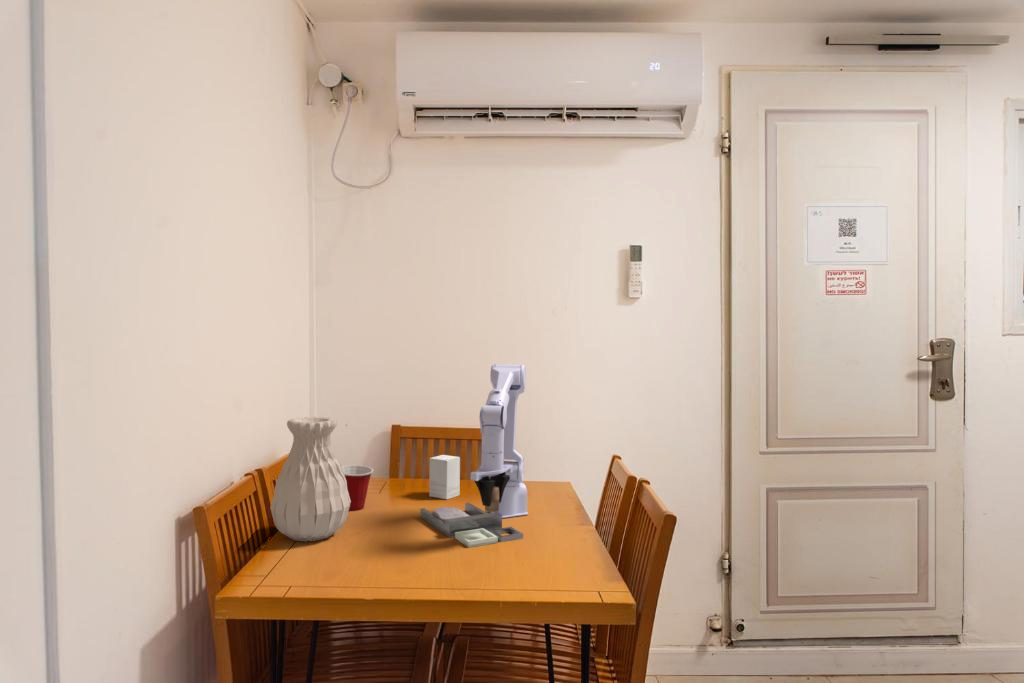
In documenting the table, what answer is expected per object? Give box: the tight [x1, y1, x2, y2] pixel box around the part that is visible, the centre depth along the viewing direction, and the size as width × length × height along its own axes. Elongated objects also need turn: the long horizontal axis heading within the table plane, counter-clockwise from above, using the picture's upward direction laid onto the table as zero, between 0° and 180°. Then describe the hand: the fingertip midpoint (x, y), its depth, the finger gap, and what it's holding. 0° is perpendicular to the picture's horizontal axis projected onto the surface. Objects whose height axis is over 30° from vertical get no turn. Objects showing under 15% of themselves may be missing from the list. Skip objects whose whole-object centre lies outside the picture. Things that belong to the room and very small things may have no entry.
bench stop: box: [419, 502, 503, 539], centre depth 183 cm, size 15×21×4 cm
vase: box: [270, 416, 351, 542], centre depth 171 cm, size 20×20×30 cm
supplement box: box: [428, 454, 461, 500], centre depth 213 cm, size 7×7×13 cm
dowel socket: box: [489, 526, 524, 543], centre depth 172 cm, size 7×7×1 cm
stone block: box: [431, 506, 471, 522], centre depth 182 cm, size 12×5×10 cm
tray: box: [454, 528, 499, 548], centre depth 168 cm, size 8×8×2 cm
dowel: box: [484, 485, 499, 513], centre depth 170 cm, size 4×4×6 cm
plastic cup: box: [341, 464, 374, 512], centre depth 196 cm, size 11×11×12 cm
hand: (491, 504), depth 170 cm, fingers closed on dowel, 4 cm apart
